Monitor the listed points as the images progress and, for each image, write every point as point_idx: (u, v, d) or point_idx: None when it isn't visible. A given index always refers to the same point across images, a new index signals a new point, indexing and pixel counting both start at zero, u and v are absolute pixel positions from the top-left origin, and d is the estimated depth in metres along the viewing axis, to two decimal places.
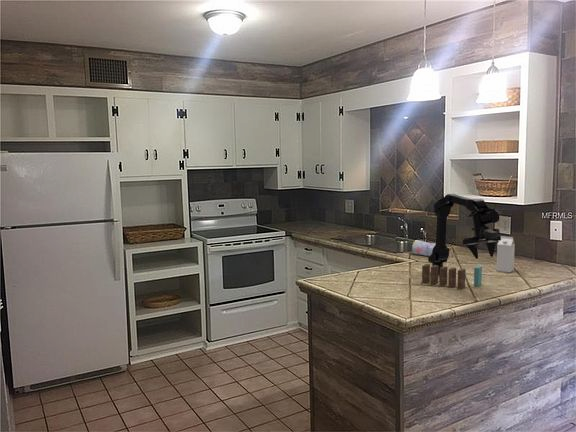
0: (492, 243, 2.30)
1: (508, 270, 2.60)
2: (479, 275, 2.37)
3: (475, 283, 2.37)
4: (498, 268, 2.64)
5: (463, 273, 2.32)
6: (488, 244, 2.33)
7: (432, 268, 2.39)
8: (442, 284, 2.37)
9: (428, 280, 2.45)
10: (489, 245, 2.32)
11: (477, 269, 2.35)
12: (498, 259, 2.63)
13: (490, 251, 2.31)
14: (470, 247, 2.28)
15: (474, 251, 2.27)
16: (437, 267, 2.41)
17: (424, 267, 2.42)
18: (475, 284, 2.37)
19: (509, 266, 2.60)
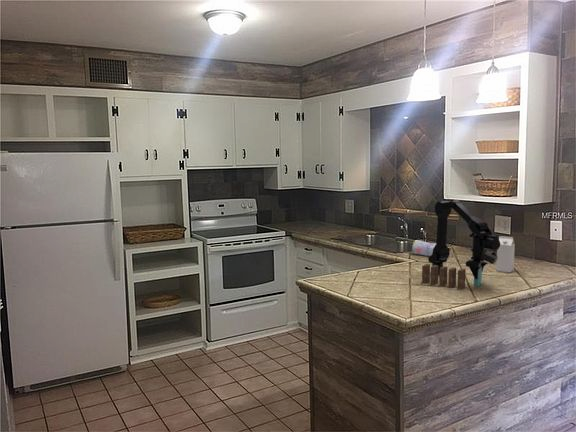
0: (482, 264, 2.39)
1: (508, 270, 2.60)
2: (479, 275, 2.36)
3: (475, 283, 2.36)
4: (498, 268, 2.64)
5: (463, 273, 2.32)
6: None
7: (432, 268, 2.39)
8: (442, 284, 2.37)
9: (428, 280, 2.45)
10: None
11: None
12: (498, 259, 2.63)
13: None
14: (472, 268, 2.35)
15: (476, 272, 2.34)
16: (437, 267, 2.41)
17: (424, 267, 2.42)
18: (475, 284, 2.37)
19: (509, 266, 2.60)
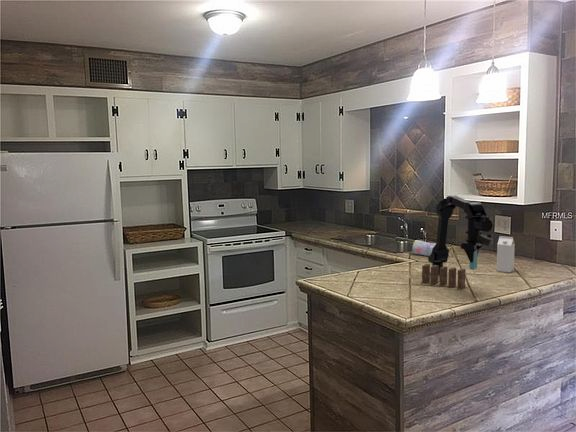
0: (477, 247, 2.31)
1: (508, 270, 2.60)
2: (475, 258, 2.29)
3: (471, 266, 2.29)
4: (498, 268, 2.64)
5: (463, 273, 2.32)
6: None
7: (432, 268, 2.39)
8: (442, 284, 2.37)
9: (428, 280, 2.45)
10: None
11: None
12: (498, 259, 2.63)
13: None
14: (467, 251, 2.27)
15: (471, 255, 2.27)
16: (437, 267, 2.41)
17: (424, 267, 2.42)
18: (470, 267, 2.29)
19: (509, 266, 2.60)
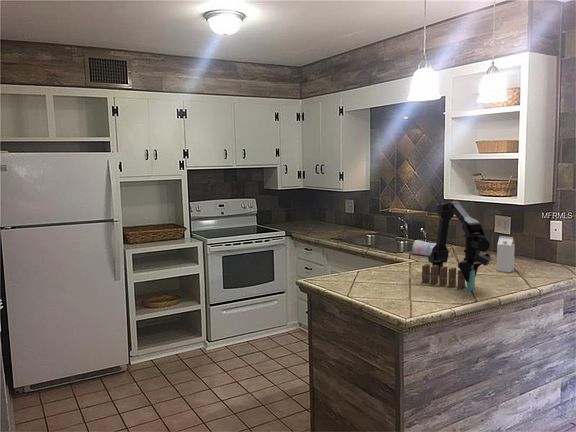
0: (476, 265, 2.32)
1: (508, 270, 2.60)
2: (472, 279, 2.29)
3: (468, 288, 2.29)
4: (498, 268, 2.64)
5: None
6: None
7: (432, 268, 2.39)
8: (442, 284, 2.37)
9: (428, 280, 2.45)
10: None
11: None
12: (498, 259, 2.63)
13: None
14: (463, 270, 2.26)
15: (467, 275, 2.25)
16: (437, 267, 2.41)
17: (424, 267, 2.42)
18: (468, 288, 2.29)
19: (509, 266, 2.60)
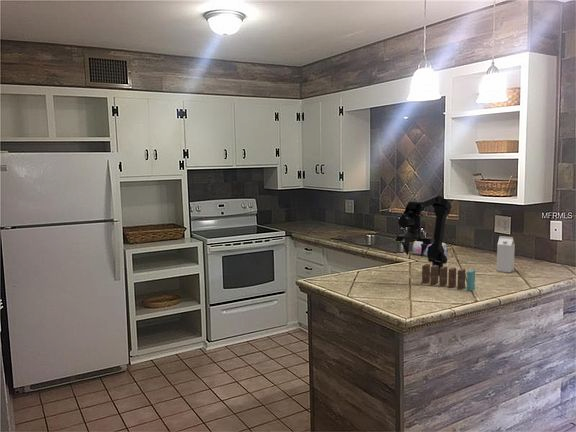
0: None
1: (508, 270, 2.60)
2: (472, 279, 2.29)
3: (468, 288, 2.29)
4: (498, 268, 2.64)
5: (463, 273, 2.32)
6: None
7: (432, 268, 2.39)
8: (442, 284, 2.37)
9: (428, 280, 2.45)
10: None
11: (470, 273, 2.28)
12: (498, 259, 2.63)
13: None
14: None
15: None
16: (437, 267, 2.41)
17: (424, 267, 2.42)
18: (468, 288, 2.29)
19: (509, 266, 2.60)
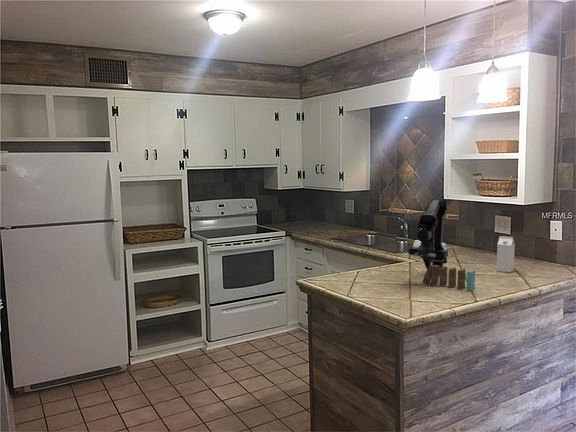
0: None
1: (508, 270, 2.60)
2: (472, 279, 2.29)
3: (468, 288, 2.29)
4: (498, 268, 2.64)
5: (463, 273, 2.32)
6: None
7: (433, 268, 2.39)
8: (442, 284, 2.37)
9: (429, 280, 2.45)
10: None
11: (470, 273, 2.28)
12: (498, 259, 2.63)
13: None
14: None
15: None
16: (438, 267, 2.41)
17: (430, 268, 2.40)
18: (468, 288, 2.29)
19: (509, 266, 2.60)
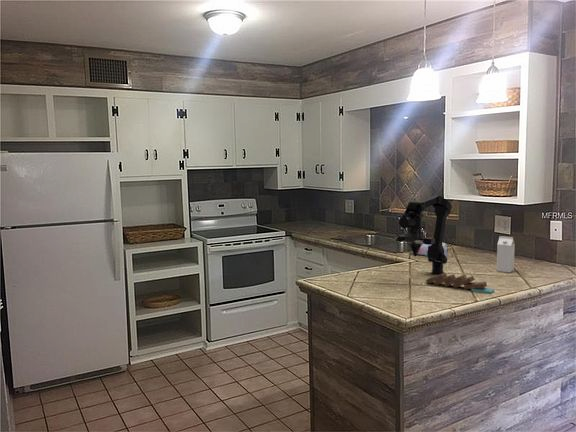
0: None
1: (508, 270, 2.60)
2: None
3: (473, 290, 2.27)
4: (498, 268, 2.64)
5: None
6: None
7: (449, 278, 2.34)
8: (446, 285, 2.36)
9: None
10: None
11: None
12: (498, 259, 2.63)
13: None
14: None
15: None
16: (453, 278, 2.37)
17: (441, 277, 2.37)
18: (473, 290, 2.28)
19: (509, 266, 2.60)
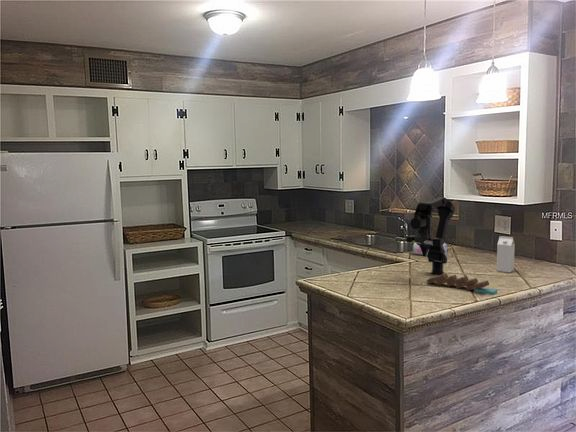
0: None
1: (508, 270, 2.60)
2: None
3: (476, 290, 2.26)
4: (498, 268, 2.64)
5: None
6: None
7: (451, 278, 2.34)
8: (449, 285, 2.35)
9: None
10: None
11: (492, 294, 2.22)
12: (498, 259, 2.63)
13: None
14: None
15: None
16: None
17: (442, 277, 2.36)
18: (476, 290, 2.26)
19: (509, 266, 2.60)
